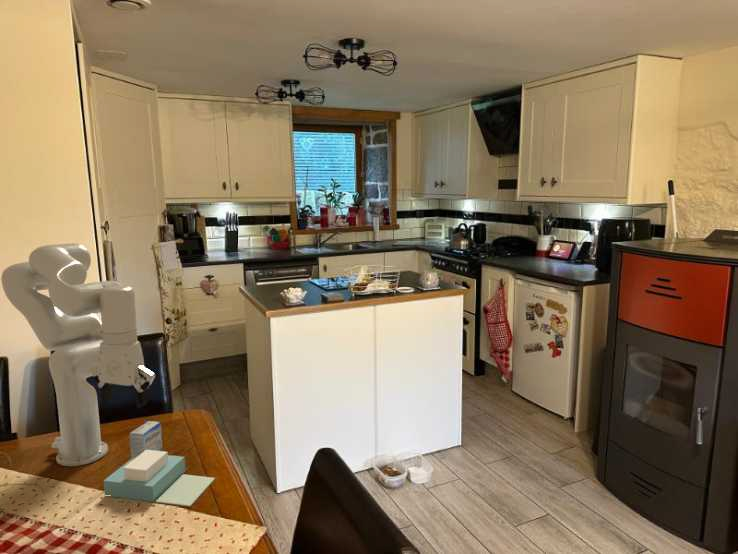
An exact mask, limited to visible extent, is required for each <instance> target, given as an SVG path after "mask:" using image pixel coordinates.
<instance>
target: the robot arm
mask: <svg viewBox="0 0 738 554" xmlns="http://www.w3.org/2000/svg"><path fill="white" fill-rule="evenodd" d="M91 264H92V258H91V254H90V252H89V250H88V249H87V248H86V247H85V246H83V245H82V244H80V243H76V242H75V243H60V244H49V245H48V244H46V245H42V246H39V247H37V248H35V249H34V250H32V251H31V252H30V254H29V256H28V261H24V262H19V263H14V264H12V265H9V266H8V267H6V268H5V269H4V270H3V272H2V273H1V278H0V280H1V285H2V289H3V292H4V294H5V296H6V298H7V300H9V302H10V303H11V305H12V306H13V307H15V309H16V310H17V311H18V312H19V313H20V314H21V315H23V316H24V318H25V320H26V321H27V323H28V324H29V326H30V328H31V330H32V331H33V333H34V335H35V336H36V337H37V339H38V341H39V342H40V343H41V345H42V347H44V348H45V349H46V350H47V351H50V352H51V351H52V352H53V353H51V355H50V356H49V358H48V368H49V372H50V375H51V378H52V381H53V385H54V389H55V394H56V397H55V398H56V405H57V414H58V422H59V423H58V424H59V432H60V433H59V434H60V436H56V437H55V438H54V439H53V442H52V443H51V448H53V449H58V453H57V454H56V457H55V460H56V463H57V464H58V465H60V466H64V467H78V466H83V465H88V464H90V463H93V462H96V461H98V460H99V459H101V458H103V457H104V456H105V455H106V454H107V453H108V451H109V446H108V444H107V443H106V442H104V441H102V437H101V436H102V435H101V424H100V415H99V414H100V413H99V412H100V411H99V403H98V394H97V391H96V389H95V387H94V386H93V385H91V384H90V383H89V382H88V381H87V378H90V377H93V380H94V381H95V382H96V383H97V386H98V388H99V389H100V395H101V403H102V404H107V403H109V402H110V401H112V400H113V399H114V393H113V392H114V391H113V390H114V389H113V385H117V386H124V387H126V386H127V387H129V386H130V387H131V386H133V387H134V388H135V389H136V391H137V392H135V404H136V408H138V409H141V408H142V407H144V406H145V405H147V404H148V389H149V387H150V386H151V385H153V383H154V382H153V381H154V380H155V378H156V374H155V373H154V372H153V371H151V370H150V369H148V368H146V366H145V359H144V354H143V349H142V345H141V342H140V341H138V331H137V330H138V328H137V327H138V326H137V313H136V311H137V310H136V295H135V290H134V288H133V287H131V286H129V285H125V284H121V283H120V282H118V281H116V280H104V281H96V282H88V283H85V282H86V279H87V277H88V270H89V269H90V266H91ZM45 290H48V291H47V292H48V295H49V296H48V295H46V294H43V293H40V292H39V291H45ZM98 313H99V314H100V317H101V318H100V317H99V315H97V314H98ZM145 378H146V379H145Z"/></svg>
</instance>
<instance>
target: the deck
mask: <svg viewBox="0 0 738 554" xmlns="http://www.w3.org/2000/svg"><path fill="white" fill-rule="evenodd" d="M141 453H143V452H140V453H138V454H137V455H136V456H134V457H133V458H132V459H129V460H128V461H127V462H126V463H124V464H123V465H122V466H120V467H119V468H117V469H116V470H115V471H114V472H112V473H111V474H110V475H109V476H107V477H106V478H105V479H104V480H103V488H104V490H103V491H104V496H105V495H111V496H116V497H115V498H117V497H121V498H120V499H125V498H128V500H134V501H135V500H136V501H142V502H149V503H154V502H155V501H156V500H157V499H158V498H159V497H160V496H161V495H162V494H163V493H164V492H165V491H166V490H167V489H168V488H169V487H170V486H171V485H172V484H173V483H174V482H175V481H177V480H178V479H179V478H180V477H181V476H182V475H183V474H184V473H185V472H186V460H185V459H186V458H185V456H180V455H171V454H170V455H169V454H168V463H167V464H166V465H165V466H164V467H163V468H162V469H161V470H160V471H158V472H157V473H156V474H155V475H154V476H153V477H152V478H151V479H149V480H148V481H147V482H143V481H135V480H126V479H124V467H125V466H126V465H128V464H129V463H130V462H131V461H133V460H134V459H135V458H136V457H138V456H139V455H140V454H141Z"/></svg>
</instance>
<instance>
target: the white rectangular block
mask: <svg viewBox="0 0 738 554" xmlns="http://www.w3.org/2000/svg"><path fill="white" fill-rule="evenodd" d="M168 455H169V453H168V451H165V450H162V451H155V450H145V451H144V452H143V453H141V454H140V455H139V456H138V457H136V458H135V459H134V460H133V461H131V462H130V463H129V464H128V465H126V466H125V467H124V479H126V480H135V481H143V482H147V481H148V480H149V479H151V478H152V477H153V476H154V475H155V474H156V473H157V472H158V471H160V470H161V469H162V468H163V467H164V466H165V465H166V464H167V463H168Z"/></svg>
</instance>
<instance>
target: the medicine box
mask: <svg viewBox="0 0 738 554" xmlns="http://www.w3.org/2000/svg"><path fill="white" fill-rule="evenodd" d="M129 447H130V454H131V455H130V456H131V459H132V458H133V457H134V456H136V455H137V454H138V453H140V452H144V451H145V450H155V451H163V439H162V423H161V422H159V421H149V420H148V421H145V422H144V423H143V424H141V425H140V426H138V427H136V429H134V430H133V431H130V432H129ZM131 459H130V460H131Z"/></svg>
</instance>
